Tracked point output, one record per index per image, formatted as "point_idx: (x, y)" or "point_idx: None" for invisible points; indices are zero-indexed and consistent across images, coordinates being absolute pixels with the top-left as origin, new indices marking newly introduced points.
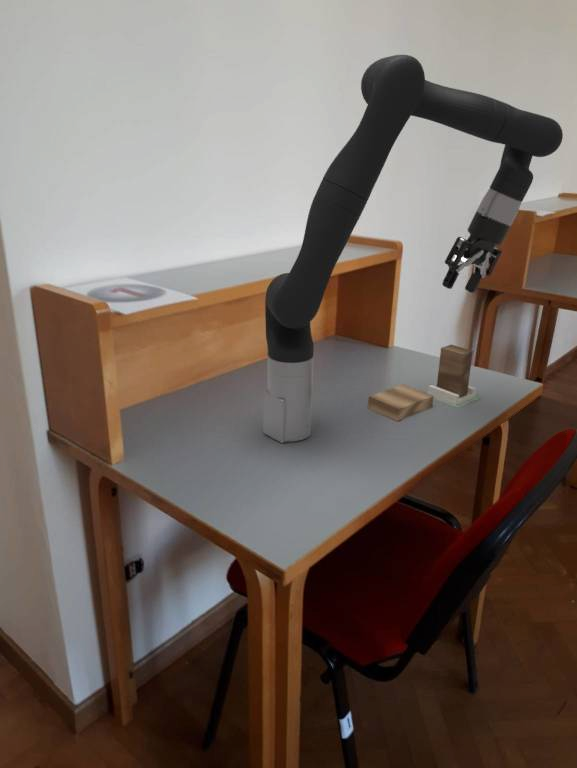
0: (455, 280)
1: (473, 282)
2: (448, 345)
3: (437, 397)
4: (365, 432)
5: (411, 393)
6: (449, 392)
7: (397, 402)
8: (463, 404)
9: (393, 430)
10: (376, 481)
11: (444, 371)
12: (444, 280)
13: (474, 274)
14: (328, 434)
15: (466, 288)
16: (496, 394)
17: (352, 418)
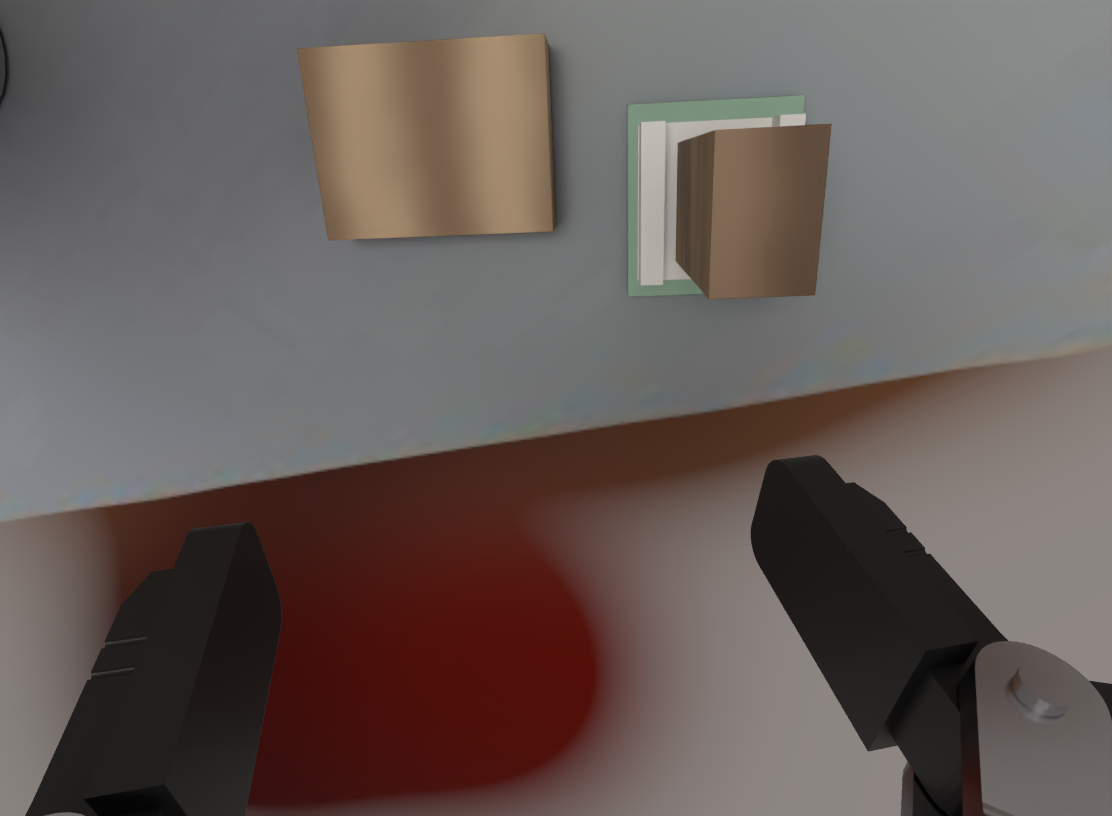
0: (256, 735)
1: (822, 611)
2: (797, 126)
3: (637, 185)
4: (194, 222)
5: (492, 149)
6: (654, 238)
7: (368, 185)
8: (674, 292)
9: (294, 272)
10: (63, 461)
11: (691, 179)
12: (126, 623)
13: (913, 680)
14: (62, 150)
15: (777, 479)
16: (901, 292)
17: (215, 93)
